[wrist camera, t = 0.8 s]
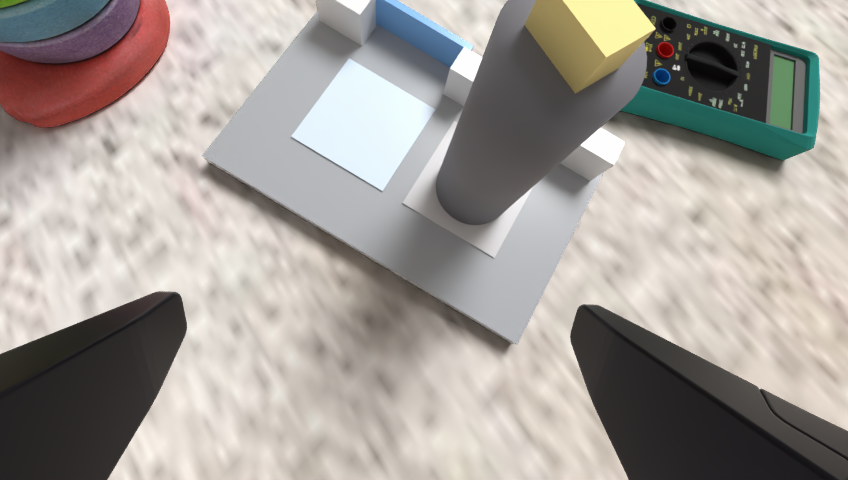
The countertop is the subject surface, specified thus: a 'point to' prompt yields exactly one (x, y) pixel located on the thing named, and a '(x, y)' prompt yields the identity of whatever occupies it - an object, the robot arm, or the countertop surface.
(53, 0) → the stacking bear
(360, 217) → the board
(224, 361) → the countertop surface
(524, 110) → the grey cylinder
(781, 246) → the countertop surface
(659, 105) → the digital multimeter
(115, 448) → the robot arm
